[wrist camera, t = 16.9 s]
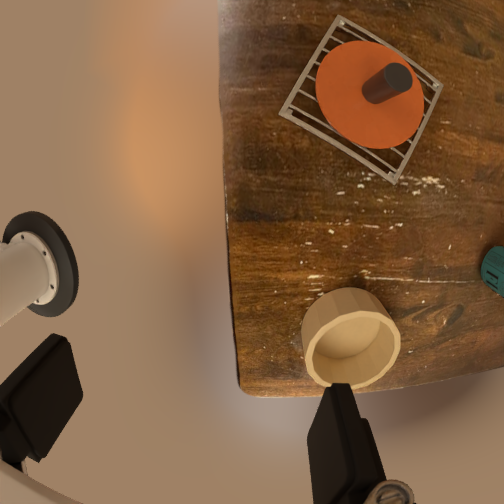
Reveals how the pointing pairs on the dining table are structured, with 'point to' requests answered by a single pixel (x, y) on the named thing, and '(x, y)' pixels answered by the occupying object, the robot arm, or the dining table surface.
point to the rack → (287, 114)
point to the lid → (369, 94)
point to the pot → (349, 338)
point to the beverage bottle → (494, 269)
